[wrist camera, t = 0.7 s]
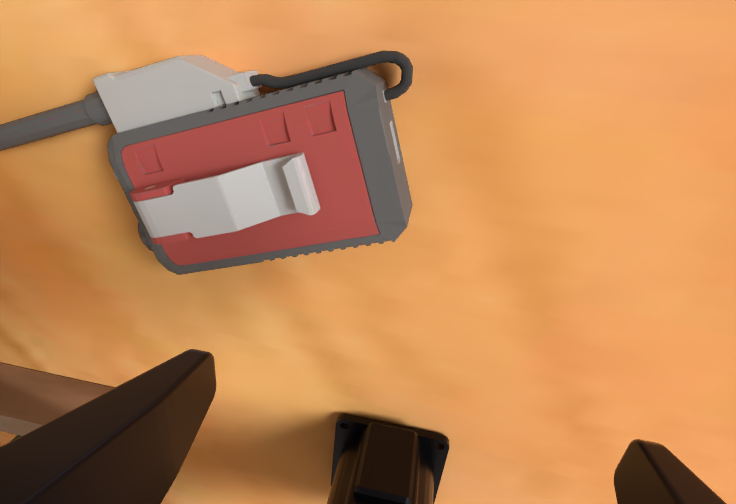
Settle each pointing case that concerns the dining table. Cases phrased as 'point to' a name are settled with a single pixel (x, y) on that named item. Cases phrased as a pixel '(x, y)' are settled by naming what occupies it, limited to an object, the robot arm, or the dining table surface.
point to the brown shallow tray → (39, 397)
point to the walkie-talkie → (247, 157)
